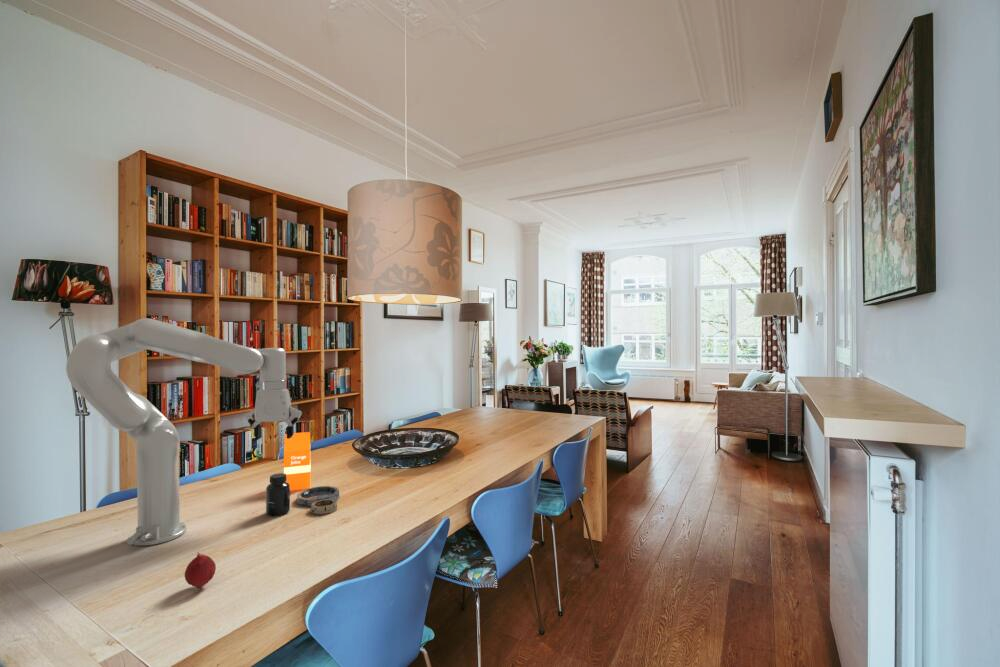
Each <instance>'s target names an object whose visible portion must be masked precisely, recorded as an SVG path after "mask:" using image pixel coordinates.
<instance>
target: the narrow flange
mask: <svg viewBox="0 0 1000 667" xmlns="http://www.w3.org/2000/svg"><path fill="white" fill-rule="evenodd" d="M337 510H338V501H337V500H334V499H323V500H318V501H315V502H313V503H312V505H311V507H310V513H311V514H312V515H314V516H315V515H316V516H324V515H325V516H326V515H328V514H329V515H330V514H333V513H335V512H336V511H337Z"/></svg>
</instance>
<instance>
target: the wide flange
mask: <svg viewBox="0 0 1000 667" xmlns="http://www.w3.org/2000/svg"><path fill="white" fill-rule="evenodd" d="M339 498H340V490H339V489H338V487H336V486H330V485H325V486H323V485H321V486H315V487H310V488H306V489H302V490H301V491H299V493H298V494H297V495H296V504H297V505H298V506H301V507H307V508H308V507H309V508H311V505H312V503H313V502H315V501H318V500H323V499H334V500H336V501H337V500H339Z"/></svg>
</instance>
